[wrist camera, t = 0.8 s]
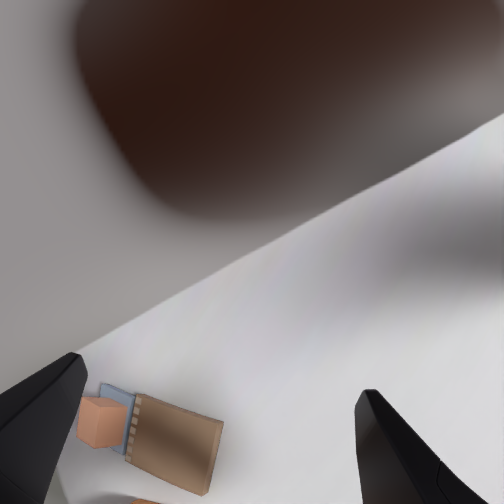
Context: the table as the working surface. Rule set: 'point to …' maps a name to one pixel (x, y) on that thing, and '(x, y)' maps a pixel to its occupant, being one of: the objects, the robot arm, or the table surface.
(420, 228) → the table surface
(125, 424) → the stub
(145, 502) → the arch
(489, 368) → the table surface
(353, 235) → the table surface
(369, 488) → the robot arm
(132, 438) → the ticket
